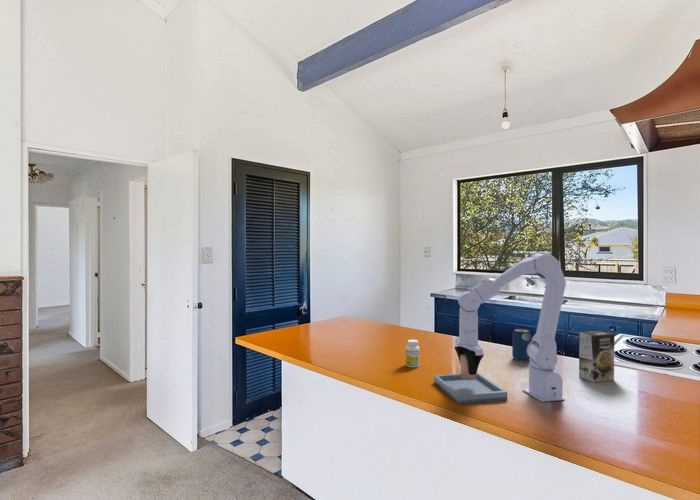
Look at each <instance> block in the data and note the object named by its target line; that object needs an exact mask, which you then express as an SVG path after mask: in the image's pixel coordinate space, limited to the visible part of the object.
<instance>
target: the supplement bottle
mask: <svg viewBox="0 0 700 500" xmlns="http://www.w3.org/2000/svg"><path fill="white" fill-rule="evenodd" d="M405 365H406V367H408V368H419V367H420V366H421V348H420V346H419V340H418V339H408V340H407V345H406V346H405Z"/></svg>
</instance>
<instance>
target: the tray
mask: <svg viewBox="0 0 700 500" xmlns="http://www.w3.org/2000/svg"><path fill="white" fill-rule="evenodd" d="M433 382H434V384H435V385H436V386H438V388H439V389H440V390H442V391H443V392H444V394H446V395H447V396H448V397H449V398H451V400H452V401H454V402H455V403H456V404H457V405H462V404H463V405H464V404H475V403H488V402H498V401H499V402H500V401H508V391H507V390H505V389H504V388H503V387H500V386H499V385H498V384H497V383H494V382H493V381H492V380H490V379H489V378H487V377H485V376H484V375H483V374H481V373H480V372H478V371H477V379H476V380H465V379H462V378H461V377H460V373H448V374H437V375H436V374H434V376H433Z"/></svg>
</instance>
